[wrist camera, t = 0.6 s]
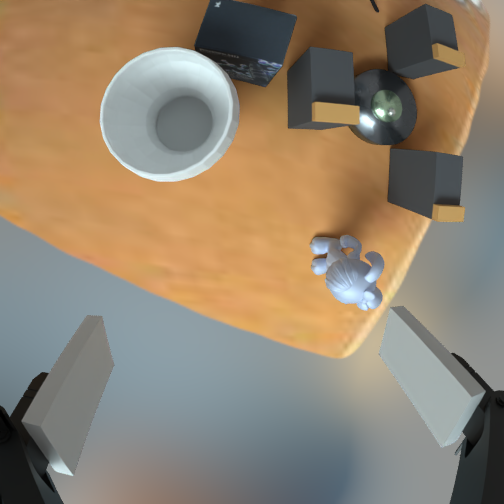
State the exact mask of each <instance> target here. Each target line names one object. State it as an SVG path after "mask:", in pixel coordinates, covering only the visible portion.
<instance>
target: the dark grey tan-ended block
mask: <svg viewBox="0 0 504 504" xmlns="http://www.w3.org/2000/svg"><path fill="white" fill-rule="evenodd" d="M385 35H386V45H387V56H388V70H389V72H392V73H394V74H395V75H398V76H402V77H406V78H410V79H416V78H420V77H424V76H428V75H432V74H436V73H440V72H444V71H448V70H452V69H457V68H462V67H466V65H465V56H464V53H462V52H459V51H458V47H457V40H456V34H455V28H454V22H453V17H452V15H451V14H449V13H446V12H444V11H442V10H439V9H437V8H435V7H432V6H430V5H427V4H424V5H422V6H420V7H419V8H417V9H415V10H413V11H412V12H410V13H408V14H407V15H405V16H403V17H401V18H400V19H398V20H396V21H395V22H393V23H392V24H390V25H388V26H387V27H385Z"/></svg>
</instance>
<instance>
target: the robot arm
mask: <svg viewBox="0 0 504 504" xmlns="http://www.w3.org/2000/svg"><path fill="white" fill-rule="evenodd" d="M379 355H380V357H381V358H382V360H383V361H384V362H385V364H386V365H387V367H388V368H389V370H390V371H391V373H392V374H393V375H394V377H395V378H396V380H397V381H398V383H399V384H400V386H401V387H402V389H403V390H404V392H405V393H406V395H407V396H408V397H409V399H410V400H411V402H412V404H413V405H414V406H415V408H416V409H417V411H418V413H419V414H420V416H421V417H422V418H423V420H424V422H425V423H426V425H427V426H428V428H429V429H430V431H431V432H432V434H433V435H434V437H435V439H436V440H437V442H438V443H439V445H440V446H441V448H442V447H445V446H447V445H449V444H452V443H454V442H456V441H457V439H458V437H459V436H460V434H461V433H462V432H463V433H464V435H465V436H466V437H465V439H464V440H463V442H462V443H461V445H460V446H459V447H458V449H457V450H456V452H455V455H457V454H458V453H459V451H460V450H461V455H460V461H459V466H458V471H457V475H456V480H455V485H454V488H453V493H452V497H451V500H450V504H504V391H500V390H499V391H495V392H494V391H493V390H492V389H491V388H490V387H489V385H488V384H487V383H486V382H485V381H484V380H483V379H482V378H481V377H480V376H479V375H478V374H477V373H475V371H474V370H473V369H472V367H469V364H468V363H467V362H466V361H465V360H464V359H463V358H462V357H460V356H458V355H456V354H455V353H450V352H449V351H448V350H447V349H446V348H445V347H444V346H443V345H442V344H441V343H440V342H439V341H438V340H437V339H436V338H435V337H434V336H433V335H432V334H431V333H430V332H429V331H428V330H427V329H426V328H425V327H424V326H423V325H422V324H421V323H420V322H419V321H418V320H417V319H416V318H415V317H414V316H413V315H412V314H411V313H410V312H409V311H408V310H407V309H406V308H405V307H404V306H398V307H390V310H389V315H388V319H387V324H386V328H385V332H384V336H383V340H382V344H381V347H380V351H379ZM113 367H114V362H113V359H112V355H111V352H110V347H109V343H108V340H107V335H106V331H105V327H104V323H103V318H102V316H91V315H87V316H86V318H85V319H84V321H83V322H82V323H81V325H80V326H79V328H78V329H77V331H76V332H75V334H74V335H73V337H72V338H71V340H70V341H69V343H68V344H67V346H66V347H65V349H64V351H63V352H62V354H61V355H60V357H59V358H58V360H57V361H56V363H55V365H54V366H53V368H52V369H51V371H50V373H45V372H42V373H40V374H39V375H38V376H37V377H35V378H34V379H33V380H32V382H31V384H30V385H29V387H28V390H26V391H25V393H24V395H23V397H22V398H21V399H20V401H19V403H18V405H17V406H16V408H15V410H14V411H13V413H12V415H11V416H10V417H9V415H8V414H7V412H6V410H5V409H4V408H3V407H2V406H0V504H64V503H63V501H62V500H61V498H60V496H59V494H58V492H57V490H56V488H55V485H54V483H53V482H52V479H51V477H50V475H49V473H48V472H47V471H46V469H47V466H48V463H50V465H51V466H52V467H53V469H54V470H55V471H56V472H60V473H64V474H68V475H72V476H74V473H75V470H76V467H77V464H78V461H79V458H80V455H81V452H82V449H83V446H84V443H85V440H86V437H87V435H88V432H89V429H90V426H91V423H92V420H93V418H94V415H95V413H96V409H97V407H98V405H99V402H100V399H101V397H102V394H103V392H104V389H105V386H106V384H107V382H108V379H109V376H110V374H111V372H112V369H113Z"/></svg>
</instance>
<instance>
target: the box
mask: <svg viewBox="0 0 504 504" xmlns="http://www.w3.org/2000/svg"><path fill="white" fill-rule="evenodd" d="M296 20H297V17H296V15H293V14H288V13H284V12H280V11H276V10H273V9H269V8H265V7H260V6H256V5H252V4H248V3H243V2H239V1H234V0H210V2H209V5H208V8H207V10H206V13H205V16H204V19H203V22H202V24H201V27H200V30H199V33H198V36H197V39H196V42H195V45H194V46H195V50H196V52H198V53H200V54H202V55H204V56H206V57H208V58H209V59H211V60H213V61H214V62H216V63H217V64H218V65H219V66H220V67H221V68H222V69H223V70H224V71H225V72H226V73H227V74H228V75H229V77H230V78H231V79H235V80H239V81H244V82H248V83H251V84H255V85H259V86H262V87H266V86H267V85H268V84H269V82H270V81H271V80H272V78H273V77H274V76H275V75H276V73H277V72H278V71H279V69H280V68H281V67H282V66H283V62H284V59H285V55H286V52H287V49H288V45H289V42H290V39H291V35H292V32H293V29H294V26H295V23H296Z"/></svg>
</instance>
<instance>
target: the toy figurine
mask: <svg viewBox="0 0 504 504" xmlns="http://www.w3.org/2000/svg"><path fill="white" fill-rule="evenodd" d="M342 247H343V248H347V247H350V248H353V249H354V251H353V252H350V253H349V254H348V256H347V255H345V254H344V253H343V252H342V251H340V250H341V249H342ZM310 248H311V251H312V253H314V254H324V253H328V254H327V258H318V259H314V260H313V261H312V265H311V269H312V271H313V272H314V273H315V274H316V275H321V274H324V273H326V279H325V283H326V286H327V288H328V289H330V291H331V293H332V294H333V296H334V297H335V298H336V299H337V300H339V301H340V302H342V303H345V304H347V303H357V306H358V307H359V308H360V309H362V310H368V308H371V309H375V308H377V307H378V306H379V305H380V304H381V301H382V293H381V291H380V290H379V289H378V288H377V287H376V280H377V279H378V278H379V277H380V275H381V273H382V271H383V268H384V260H383V258H382V256H381V255H380V254H379V253H377V252H374V251H371V252H368V253H366V254H365V257H366V258H367V259H368V260H369V261H370V263H371V265H372V267H371V266H370V265H369V264H367V263H365V262H363V261H361V260H360V253H361V248H362V245H361V243H360V242H359V241H358V240H357V239H356V238H354V237H352V236H350V235H343V236H341V237H340V240H339V239H336V238H329V237H314V238H313V239H312V242H311V243H310Z"/></svg>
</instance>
